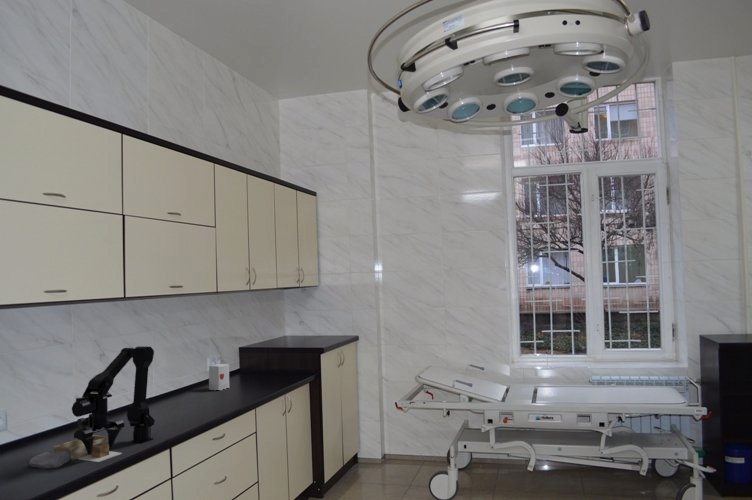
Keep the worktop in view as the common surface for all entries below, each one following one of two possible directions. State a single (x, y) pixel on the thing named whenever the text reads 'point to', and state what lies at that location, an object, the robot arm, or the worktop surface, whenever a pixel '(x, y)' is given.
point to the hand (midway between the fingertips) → (100, 451)
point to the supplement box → (218, 376)
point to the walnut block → (100, 450)
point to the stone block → (50, 459)
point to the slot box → (79, 447)
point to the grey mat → (96, 459)
